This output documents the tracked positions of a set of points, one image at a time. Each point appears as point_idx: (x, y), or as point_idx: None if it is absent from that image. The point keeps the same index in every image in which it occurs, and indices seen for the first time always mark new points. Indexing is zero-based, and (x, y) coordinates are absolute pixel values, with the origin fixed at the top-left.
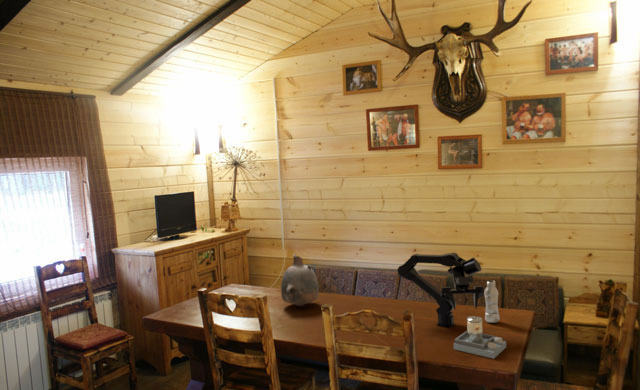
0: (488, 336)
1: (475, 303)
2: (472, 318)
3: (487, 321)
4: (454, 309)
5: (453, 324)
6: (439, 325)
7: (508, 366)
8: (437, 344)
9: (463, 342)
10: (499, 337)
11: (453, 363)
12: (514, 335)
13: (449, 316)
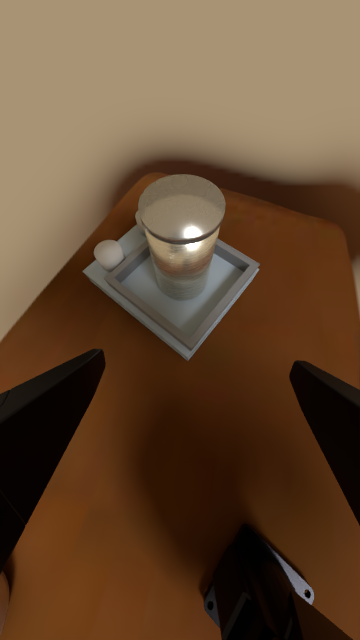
0: (127, 289)
1: (71, 370)
2: (192, 206)
3: (8, 592)
4: (296, 373)
5: (211, 582)
6: (294, 570)
7: (142, 189)
8: (302, 321)
9: (230, 249)
10: (99, 257)
11: (262, 207)
12: (5, 377)
13: (258, 604)
